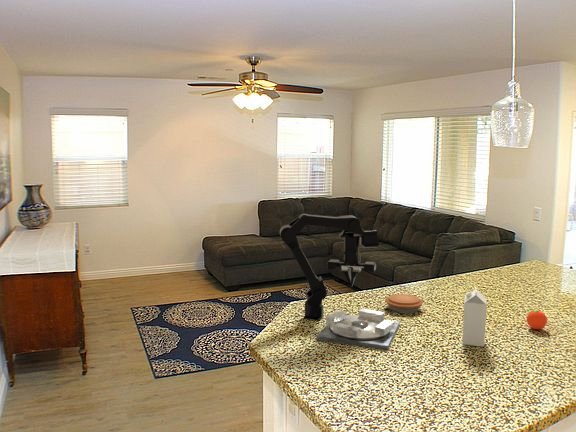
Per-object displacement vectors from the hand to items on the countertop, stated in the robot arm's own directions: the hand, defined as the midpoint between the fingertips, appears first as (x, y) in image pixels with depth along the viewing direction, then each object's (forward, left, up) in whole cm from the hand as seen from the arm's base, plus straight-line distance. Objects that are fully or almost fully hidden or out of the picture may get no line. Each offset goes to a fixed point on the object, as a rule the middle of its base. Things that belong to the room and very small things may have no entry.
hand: (351, 286), depth 207 cm
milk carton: (+46, -11, -12) cm, 49 cm away
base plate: (+7, -16, -12) cm, 21 cm away
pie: (+18, +17, -13) cm, 28 cm away
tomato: (+67, +11, -12) cm, 69 cm away
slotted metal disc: (+7, -16, -10) cm, 21 cm away
